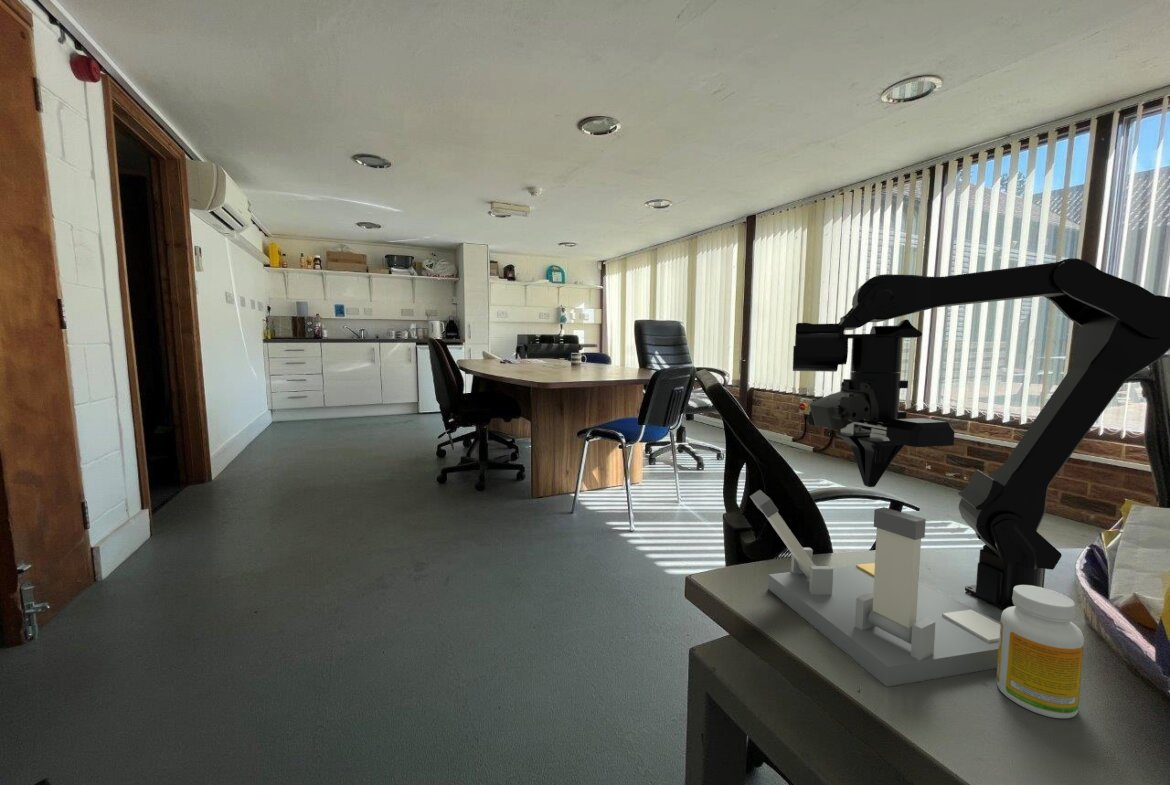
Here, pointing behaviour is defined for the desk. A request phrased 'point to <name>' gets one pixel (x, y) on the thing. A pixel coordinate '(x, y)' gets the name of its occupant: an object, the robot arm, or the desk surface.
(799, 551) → the switch
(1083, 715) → the desk surface
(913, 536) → the switch
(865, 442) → the robot arm
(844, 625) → the grey base plate
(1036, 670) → the supplement bottle
